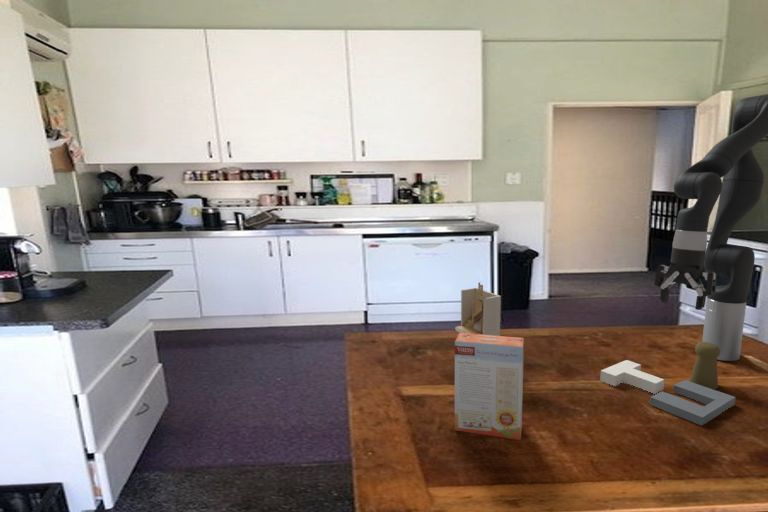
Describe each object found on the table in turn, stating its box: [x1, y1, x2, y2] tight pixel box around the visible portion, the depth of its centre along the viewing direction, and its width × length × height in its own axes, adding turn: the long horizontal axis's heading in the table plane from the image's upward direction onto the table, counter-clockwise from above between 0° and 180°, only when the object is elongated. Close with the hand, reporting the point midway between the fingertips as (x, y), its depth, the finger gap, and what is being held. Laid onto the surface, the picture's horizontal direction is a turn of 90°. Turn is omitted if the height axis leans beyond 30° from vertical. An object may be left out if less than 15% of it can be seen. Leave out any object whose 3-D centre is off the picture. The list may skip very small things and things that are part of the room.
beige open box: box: [455, 281, 502, 336], centre depth 130 cm, size 8×12×26 cm
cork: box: [689, 341, 720, 390], centre depth 116 cm, size 6×6×11 cm
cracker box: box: [454, 332, 525, 441], centre depth 97 cm, size 14×6×21 cm, turn 71°
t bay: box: [649, 379, 736, 427], centre depth 106 cm, size 11×16×2 cm
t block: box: [599, 359, 665, 395], centre depth 118 cm, size 12×12×3 cm
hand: (681, 305), depth 124 cm, fingers open, 8 cm apart
